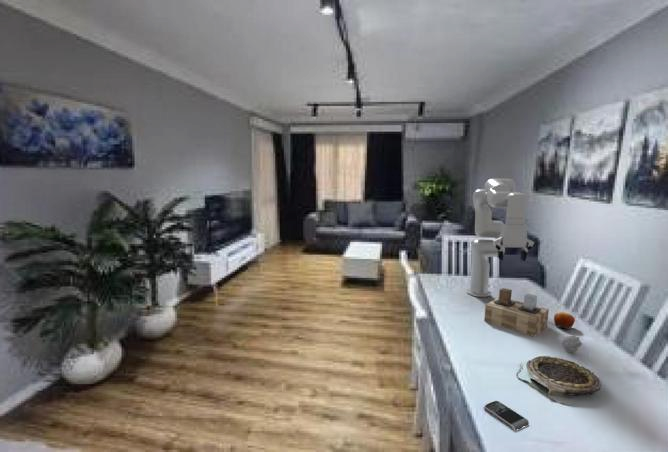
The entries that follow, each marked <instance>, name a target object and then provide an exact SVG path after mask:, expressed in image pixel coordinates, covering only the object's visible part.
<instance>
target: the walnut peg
mask: <svg viewBox="0 0 668 452" xmlns="http://www.w3.org/2000/svg"><path fill="white" fill-rule="evenodd" d="M512 293H513V292H512V289H509V288H506V287H502V288H499V293H498V297H499V302H500V303H504V304H509V303H511V300H512Z"/></svg>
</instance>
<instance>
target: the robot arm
mask: <svg viewBox="0 0 668 452" xmlns="http://www.w3.org/2000/svg"><path fill="white" fill-rule="evenodd" d="M516 189H517V187H516V182H515V181H514V179H512V178H490V179H488V180H487V181H486V182H485V183H484V188H481V189H476V190H475V191H474V192H473V194H472V205H473V208H474V212H475V213H474V214H475V217H474V234H475V235H476V236H477V237H480V238H484V239H479V238H478V239H475V240H473V241H472V243H471V246H470V248H471V249H470V250H471V271H470V281H469V282H470V287H469V288H467V290H466V293H467V294H468V295H470V296H473V297H479V298H487V297H490V296H491V292H490V291H489V288H490V287H491V286H490V284H489V281H490V280H489V279H490V268H491V267H490V265H491V264H490V262H489V260H488V259H487V257H489V258H491V257H492V258H498V260H500V261H503V260H504V254H505V252H506V248H509V249H510V248H516V249H517V248H519V249H521V251H520V260H521V261H524V262H526V259H527V256H528V255H527V254H528V252H529V251H530V250H531V249H532V247H533V246H534V244H535V241H534V240H531V239H529V238H528V231H527V225H526V223H529V219H526V218H527V217H526V215H527V202H528V196H527V194H526V193H522V192H519V191H516ZM490 206H491V207H492V208H493V209H506V212H505V213H506V214H505V215H506V216H505V223H504V222H503V221H502V220H493V219H492V215H493V213H492V212H493V211H492V210H491V208H490ZM485 238H494V239H485ZM527 243H528V245H527Z"/></svg>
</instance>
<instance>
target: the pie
mask: <svg viewBox="0 0 668 452" xmlns="http://www.w3.org/2000/svg"><path fill="white" fill-rule="evenodd" d="M525 364H526V366H525V367H526V370H527V372H528V373H527V374H528V376H529V380H530V381H531V382H530V381H528V380H525V379H522V378H520V377H519V375H520V374H521V373H520V372H522V370H524V369H523V366H524V364H523V365H522V362H520V363H519V365H520V367H519V370H518V371H517V373H516V377H517V378H518V379H520V380H521V381H524V382H527V383H528V385H529V386H530V385H531V387H532V388H534V389H536V390H541V387H540V386H539V385H537V383H539V384H540V385H542V386H544V387H545V388H547V389H548V392H547V395H548V397H549V396H551V395H557V396H562V397H564V396H565V397H566V396H567V397H569V396H580V395H587V394H590V395H591V394H592V393H596V392H599V391H600V390H601V387H602V382H601V380H600V378H599V376H598V375H597V374H595V373H594V371H591V370H590V369H589V368H586V367H585V366H583V365H582V366H581V365H580V364H578V363H576V362H574V361H571V360H567V359H564V358H560V357H556V356H555V357H554V356H549V355H540V356H536V357H534V358H532V359H529V360H528V361H527V362H526V363H525ZM521 369H522V370H521ZM519 373H520V374H519ZM518 374H519V375H518ZM533 380H534V381H536V382H537V383H536V382H534V381H533ZM550 400H551V401H553V402H556V403H558V404H559V402H558V401H556V400H555V399H554V398H552V397H550ZM561 404H563V405H564V403H563V402H561Z"/></svg>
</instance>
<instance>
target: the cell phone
mask: <svg viewBox="0 0 668 452" xmlns="http://www.w3.org/2000/svg"><path fill="white" fill-rule="evenodd" d="M483 409H484V411H486V410H487V411H488V413H489V414H490V413H491V415H492V416H493V415H494V418H496V417H497V418H496V419H498V420H499V419H500V420H501V421H500V420H499V421H500V422H502V423H503V422H504V423H503V424H505V425H506V424H507V425H506V426H508V427H509V426H510V427H509V428H511V429H512V428H513V429H512V430H514V429H515V430H514V431H517V429H520V428H522V427H523V426H526V425H528V426H529V423H530V422H529V420H528V419H527V418H526V417H524V416H523V415H521V414H519V413H518V412H517V411H515V410H513V409H512V408H510V407H508V406H507V405H506V404H504V403H502V402H501V401H498V400H493V401H490V402H487V403H486V404H484V405H483ZM487 411H486V412H487ZM526 427H527V426H526ZM522 429H523V428H522ZM520 430H521V429H520Z"/></svg>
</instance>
